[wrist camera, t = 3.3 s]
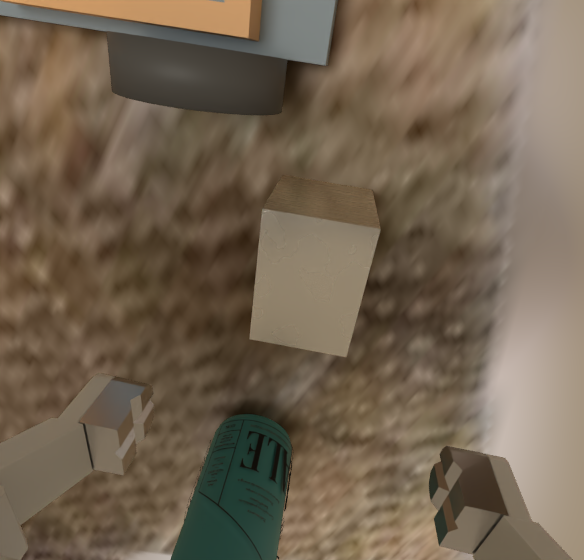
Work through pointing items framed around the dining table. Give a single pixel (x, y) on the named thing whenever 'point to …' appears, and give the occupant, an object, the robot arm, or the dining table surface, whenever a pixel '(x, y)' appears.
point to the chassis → (198, 46)
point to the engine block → (313, 264)
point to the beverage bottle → (239, 493)
